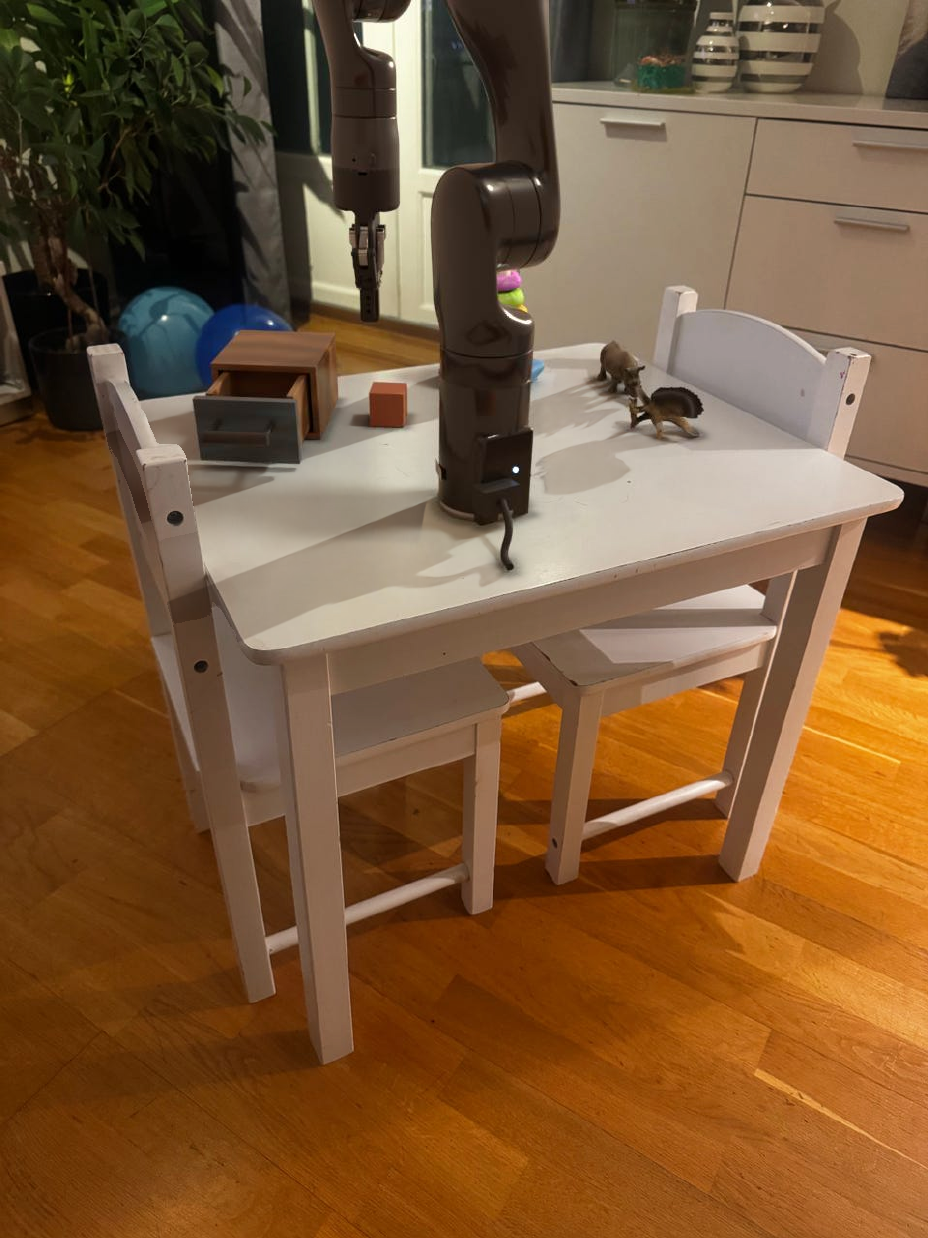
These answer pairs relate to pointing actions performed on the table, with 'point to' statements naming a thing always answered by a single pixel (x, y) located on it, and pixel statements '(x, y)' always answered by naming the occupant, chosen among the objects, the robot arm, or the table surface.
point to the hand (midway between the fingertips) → (370, 320)
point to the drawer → (254, 417)
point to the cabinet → (288, 364)
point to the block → (388, 404)
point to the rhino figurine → (620, 368)
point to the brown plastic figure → (667, 408)
